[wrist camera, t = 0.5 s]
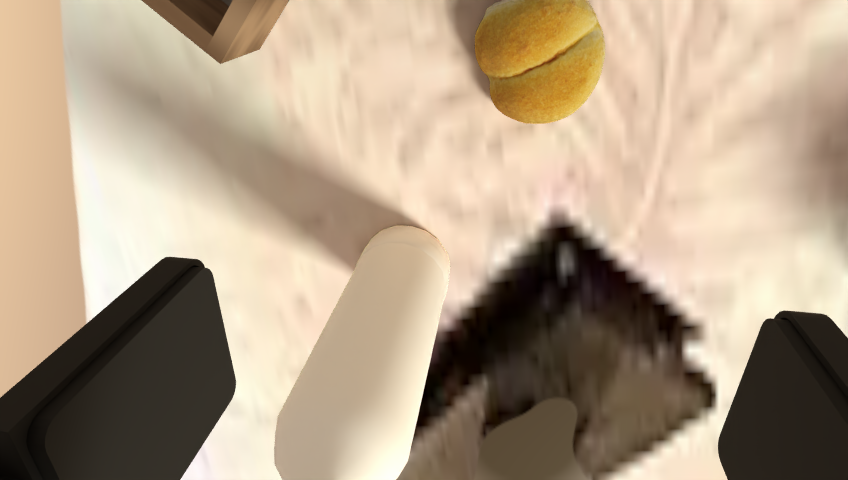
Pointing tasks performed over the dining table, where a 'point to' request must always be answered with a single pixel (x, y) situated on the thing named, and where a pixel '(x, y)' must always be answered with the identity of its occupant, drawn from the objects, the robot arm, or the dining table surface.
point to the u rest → (222, 23)
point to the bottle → (367, 366)
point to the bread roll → (540, 57)
